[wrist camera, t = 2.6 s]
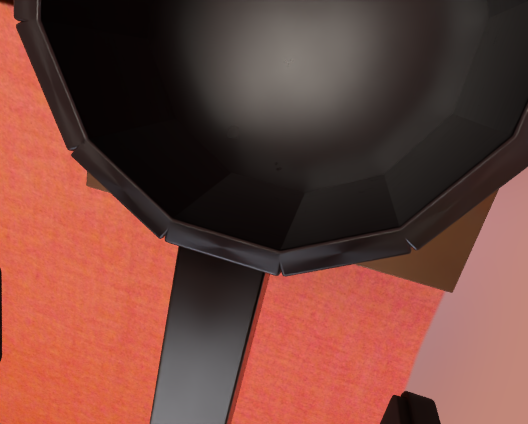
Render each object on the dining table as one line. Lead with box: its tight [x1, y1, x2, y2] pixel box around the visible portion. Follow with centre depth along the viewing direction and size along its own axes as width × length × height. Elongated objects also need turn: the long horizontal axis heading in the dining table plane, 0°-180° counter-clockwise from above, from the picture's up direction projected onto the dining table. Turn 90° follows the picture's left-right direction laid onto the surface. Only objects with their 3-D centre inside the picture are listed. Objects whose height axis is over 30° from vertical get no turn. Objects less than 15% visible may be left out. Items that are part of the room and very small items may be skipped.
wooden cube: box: [86, 171, 499, 293], centre depth 18 cm, size 13×13×14 cm
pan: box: [14, 0, 528, 424], centre depth 11 cm, size 20×10×5 cm, turn 167°
